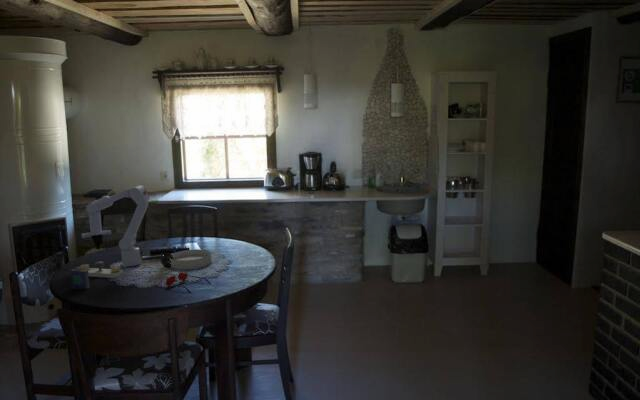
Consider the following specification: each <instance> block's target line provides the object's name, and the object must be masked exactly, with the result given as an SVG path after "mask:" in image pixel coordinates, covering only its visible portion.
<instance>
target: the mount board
mask: <svg viewBox="0 0 640 400" xmlns="http://www.w3.org/2000/svg"><path fill="white" fill-rule="evenodd" d="M119 270H120V272H117V273H111V268H101V270H99V268H96V267H89V270H88V277H94V278H95V277H97V278H108V279H109V278H110V279H116V278H118V277H120V276H122V275H123V274H124V270H123V269H119ZM121 274H122V275H121ZM119 275H120V276H119ZM117 276H118V277H117ZM115 277H116V278H115Z"/></svg>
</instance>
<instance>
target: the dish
mask: <svg viewBox="0 0 640 400" xmlns="http://www.w3.org/2000/svg"><path fill="white" fill-rule="evenodd" d="M211 254H212V253H211V251H210V250H206V249H197V248H196V249H194V248H193V249H185V250H180V251H175V252H173V253H172V254H170V255H172V256H173V258H174V259H171V258H170V257H169V265H170V264H171V266H170V267H171V268H172V269H177V270H194V269H199V268H203V267H206V266H208V265H210V264H211V263H212V257H211ZM170 261H171V263H170Z"/></svg>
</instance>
